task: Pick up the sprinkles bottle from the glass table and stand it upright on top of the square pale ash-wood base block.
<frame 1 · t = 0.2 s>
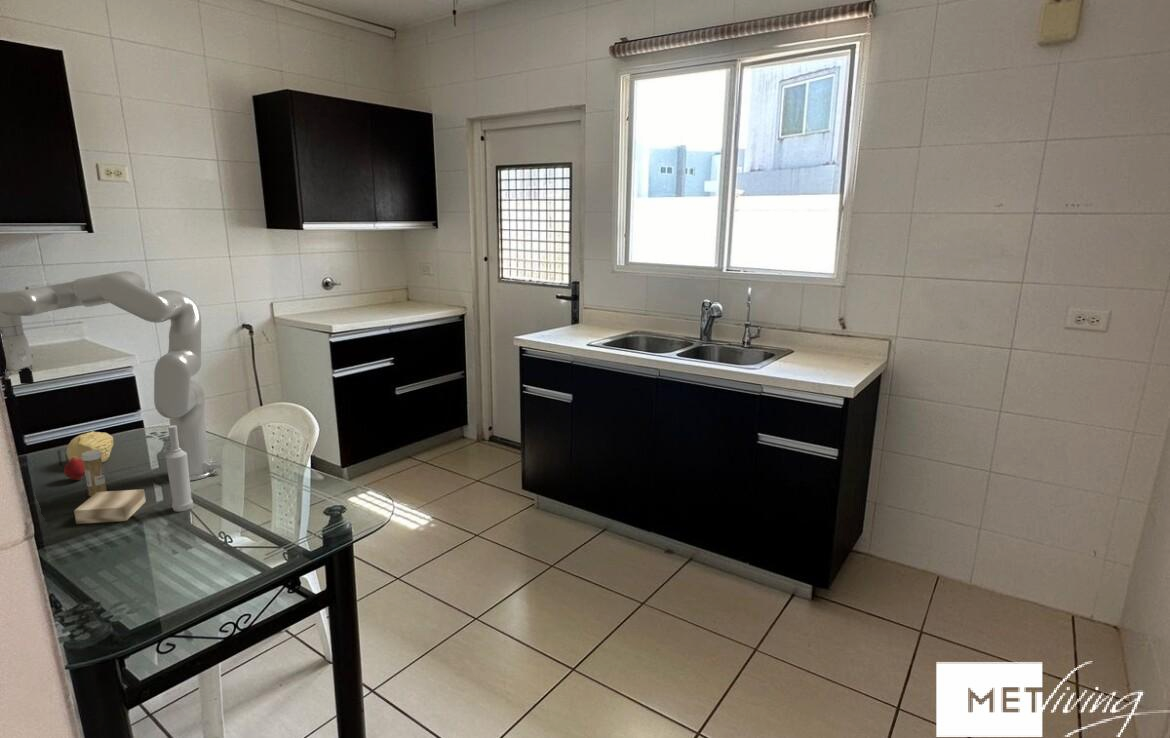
hand: (17, 387, 186), 31 cm above the table, tool pointing down, fingers open, 9 cm apart
sculpture: (92, 463, 210), on the table
sprinkles bottle: (98, 494, 187), on the table
red rounded lump: (78, 480, 196), on the table
bottle: (183, 508, 180), on the table
wooden base: (112, 512, 176), on the table
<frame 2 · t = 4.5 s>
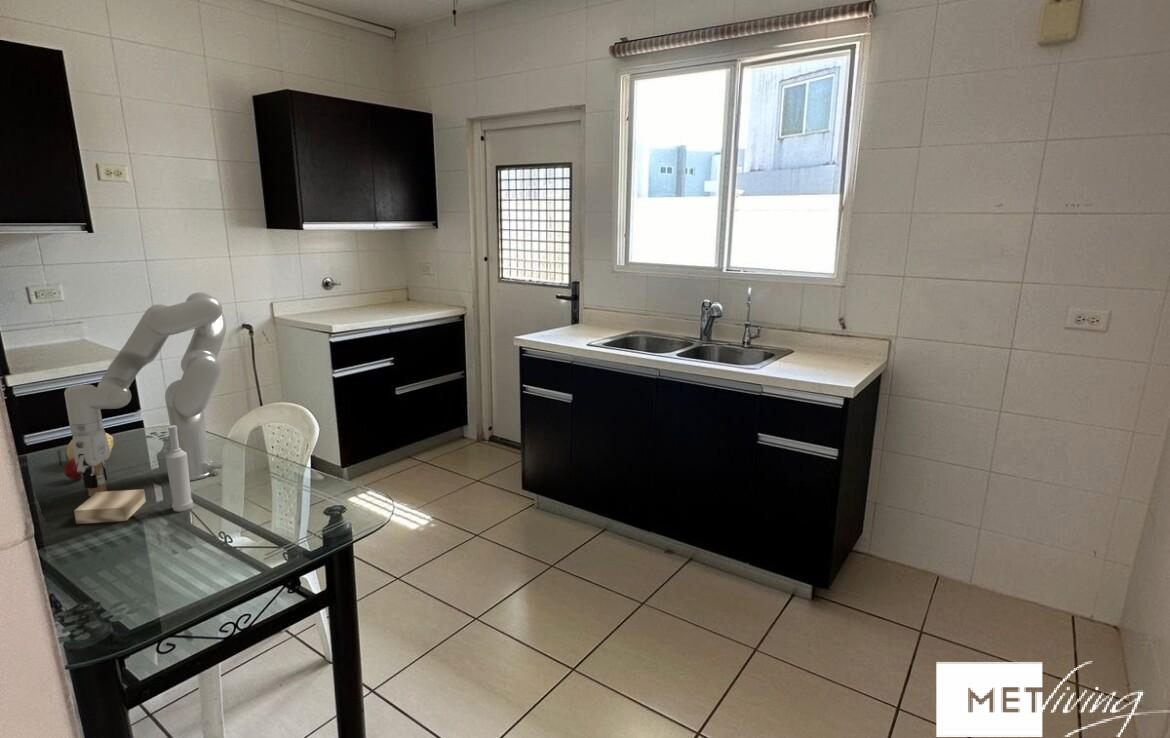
hand: (96, 483, 186), 3 cm above the table, tool pointing down, fingers closed on sprinkles bottle, 4 cm apart
sprinkles bottle: (98, 494, 187), on the table, touching gripper
everything else where it was.
when the fingers open (8 cm above the table, at t = 11.1 s): sprinkles bottle drops 1 cm, resting on wooden base.
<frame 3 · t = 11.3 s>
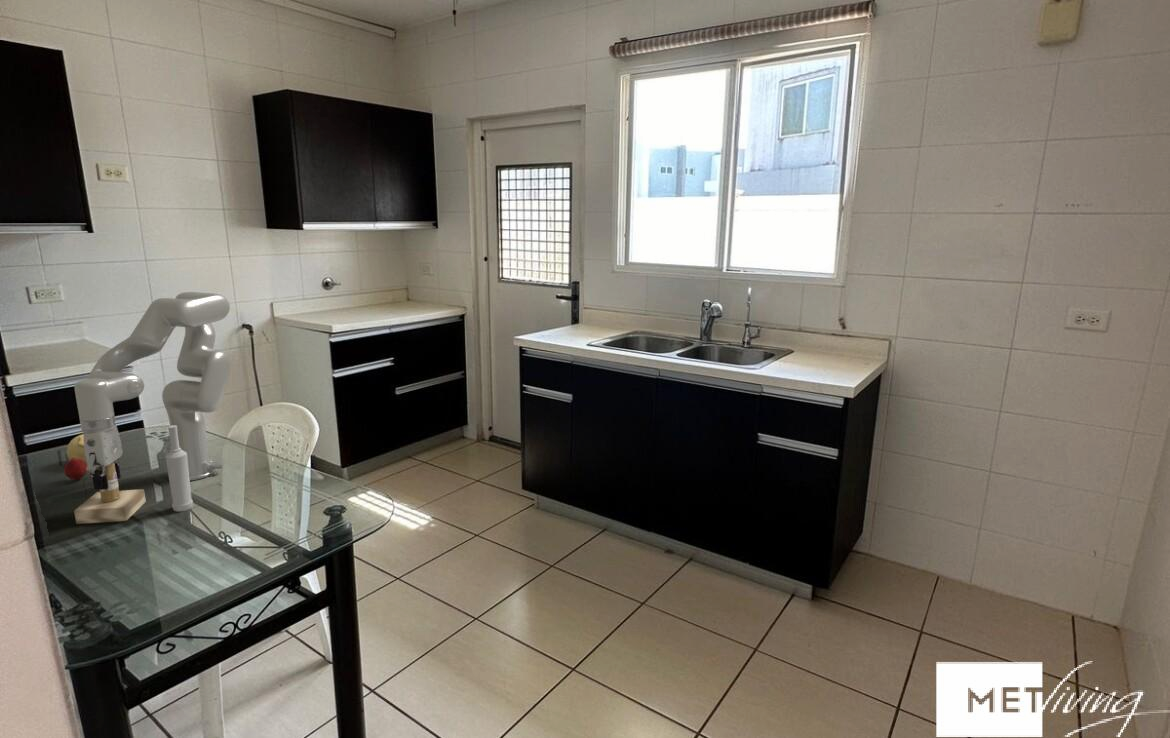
hand: (107, 483, 174), 9 cm above the table, tool pointing down, fingers open, 6 cm apart
sprinkles bottle: (110, 499, 176), point 4 cm above the table, touching wooden base
everything else where it was.
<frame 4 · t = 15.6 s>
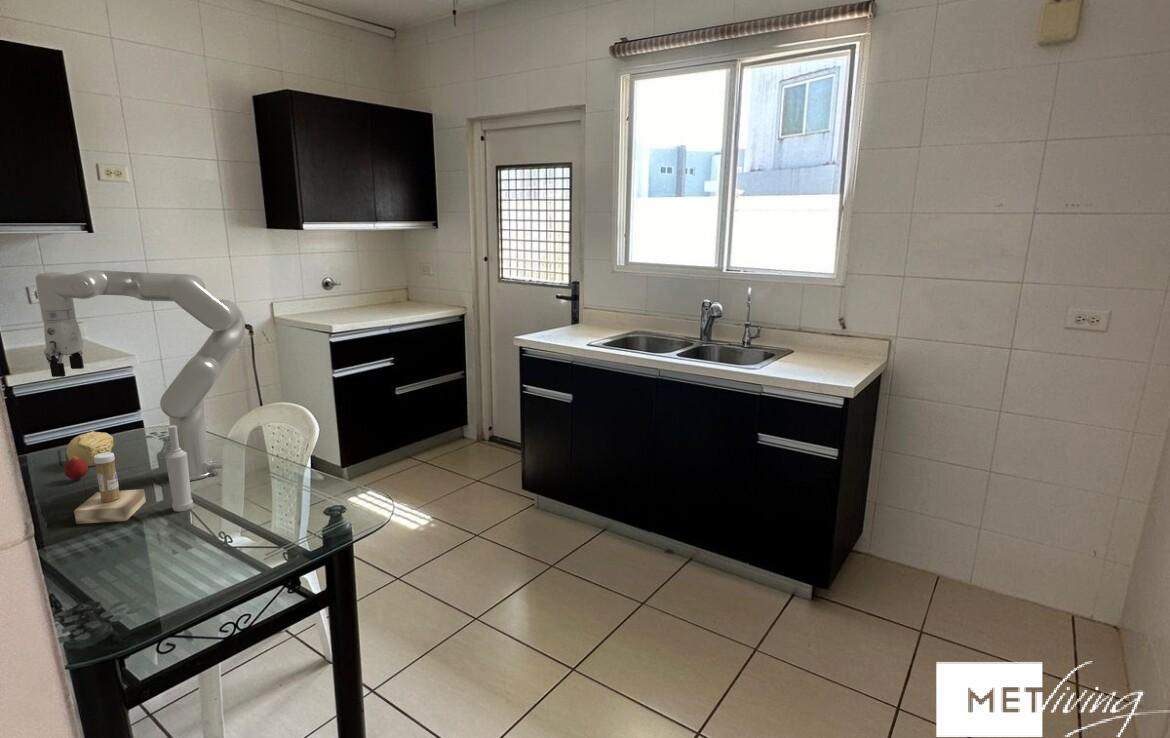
hand: (68, 372, 184), 36 cm above the table, tool pointing down, fingers open, 9 cm apart
nothing on the table moved.
at the end: sprinkles bottle inside the target area on the wooden base (0.3 cm from its centre), point 3.8 cm above the wooden base's base; sprinkles bottle tilted 0°; the gripper is holding nothing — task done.
